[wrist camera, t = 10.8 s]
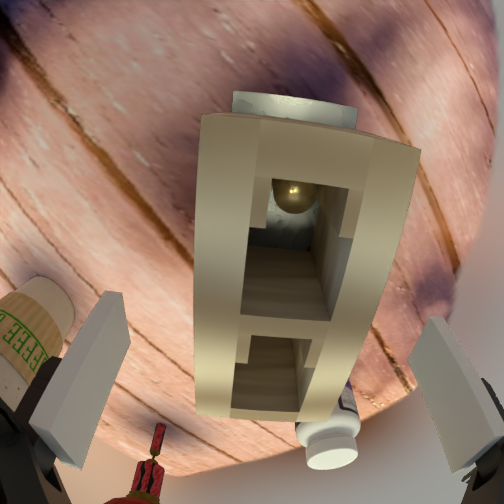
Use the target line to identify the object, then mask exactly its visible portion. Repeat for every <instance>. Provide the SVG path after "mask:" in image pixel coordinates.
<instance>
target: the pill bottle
mask: <svg viewBox="0 0 504 504" xmlns="http://www.w3.org/2000/svg"><path fill="white" fill-rule="evenodd" d="M359 430H360V418H359V414H358V410H357V406H356V402H355V399H354V395H353V391H352V387H351V383H350V380H349V378H348V380H347V382H346V384H345V386H344V388H343V391H342V393H341V395H340V397H339V399H338V401H337V403H336V405H335V407H334V409H333V411H332V413H331V415H330V417H329V419H328V421H327V422H295V431H296V437H297V440H298V441H299V443H300V444H302V445H303V446H305V447H306V458H307V464H308V466H309V467H311V468H313V469H320V470H326V469H334V468H337V467H341V466H344V465H347V464H349V463H351V462H352V461H353V460H355V458H356V457H357V455H358V451H357V446H356V441H355V438H354V437H355V436H356V435H357V434H358V432H359Z"/></svg>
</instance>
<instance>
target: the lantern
mask: <svg viewBox="0 0 504 504" xmlns="http://www.w3.org/2000/svg"><path fill="white" fill-rule="evenodd" d="M165 429H166V426H165V425H164V424H161V423H158V424H157V425H156V429H155V433H154V437H153V440H152V444H151V448H150V454H151V455H153V457H152V459H148V460H146V461H140V462H138V464H137V468H136V472H135V476H134V480H133V484H132V488H131V491H130V492H129V494H128V495H126V497H123V498H113V499H111V500H110V501H108V502H106V503H104V504H160V503H159V501H160V499H159V496H160V491H161V486H162V481H163V476H164V472H165V470H164V468H163V467H161V466H160V465H159V464H158V462H157V461H156V460H154V458H155V456H158V455H159V454H160V450H161V446H162V442H163V437H164V433H165Z"/></svg>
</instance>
